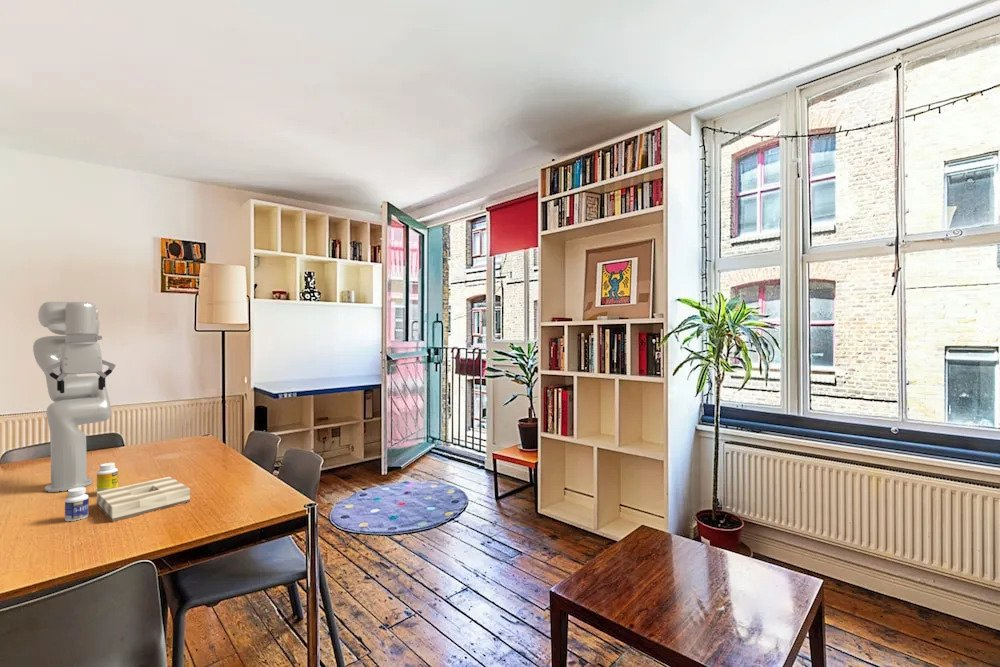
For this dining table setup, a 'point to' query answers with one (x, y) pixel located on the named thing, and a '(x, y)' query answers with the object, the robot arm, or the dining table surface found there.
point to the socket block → (142, 498)
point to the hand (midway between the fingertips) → (81, 391)
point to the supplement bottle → (107, 477)
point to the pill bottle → (76, 504)
